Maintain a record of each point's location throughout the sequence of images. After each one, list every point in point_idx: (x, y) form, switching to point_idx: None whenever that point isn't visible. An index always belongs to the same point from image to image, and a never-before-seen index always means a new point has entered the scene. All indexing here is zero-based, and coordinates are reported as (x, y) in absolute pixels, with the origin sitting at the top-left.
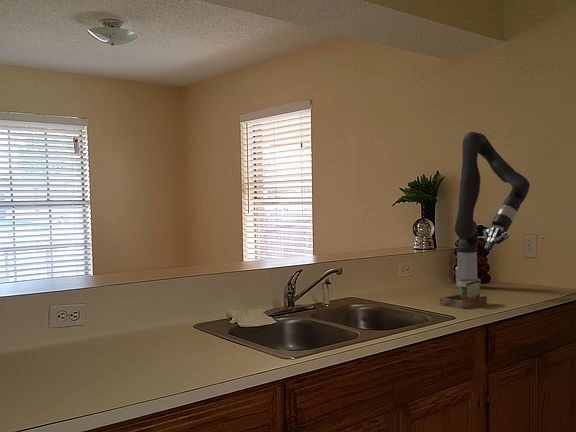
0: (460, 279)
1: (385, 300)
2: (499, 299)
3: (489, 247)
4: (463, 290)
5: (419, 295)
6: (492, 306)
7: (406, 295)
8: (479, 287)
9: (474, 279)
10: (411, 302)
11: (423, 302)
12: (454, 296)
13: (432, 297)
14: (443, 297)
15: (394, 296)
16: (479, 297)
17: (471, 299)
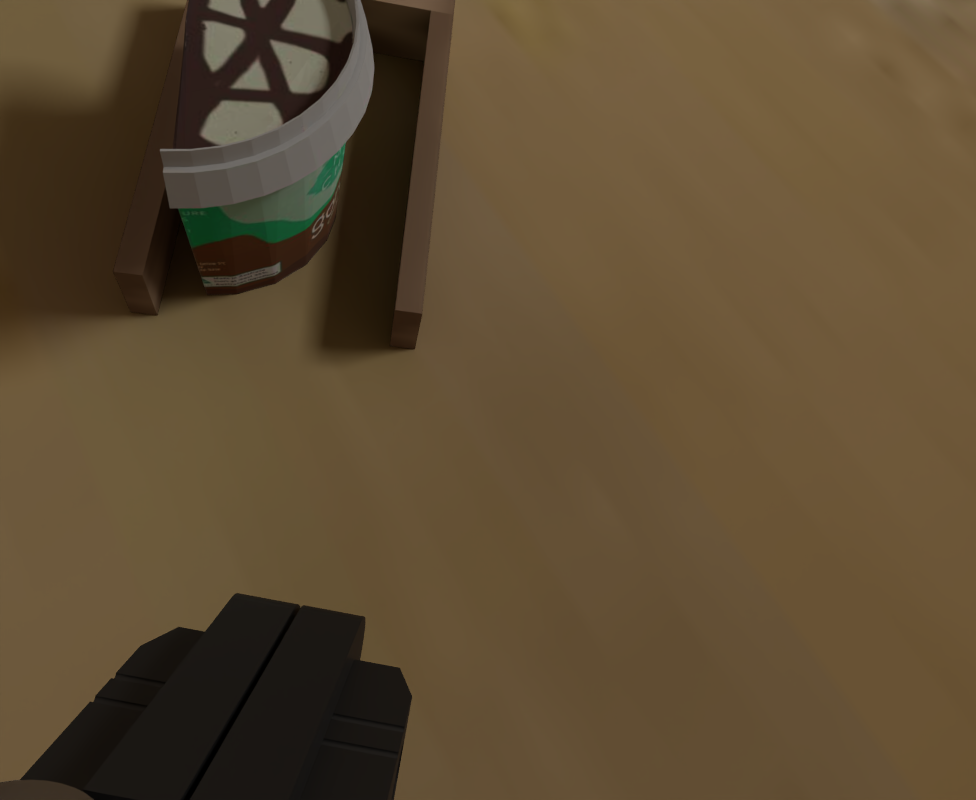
0: (355, 8)
1: (873, 14)
2: (102, 629)
3: (155, 652)
4: None
5: (879, 331)
6: (23, 215)
7: (948, 267)
8: (185, 211)
9: (241, 147)
10: (685, 38)
11: (619, 79)
12: (414, 146)
13: (726, 308)
14: (442, 24)
15: (969, 176)
16: (154, 176)
17: (176, 52)
